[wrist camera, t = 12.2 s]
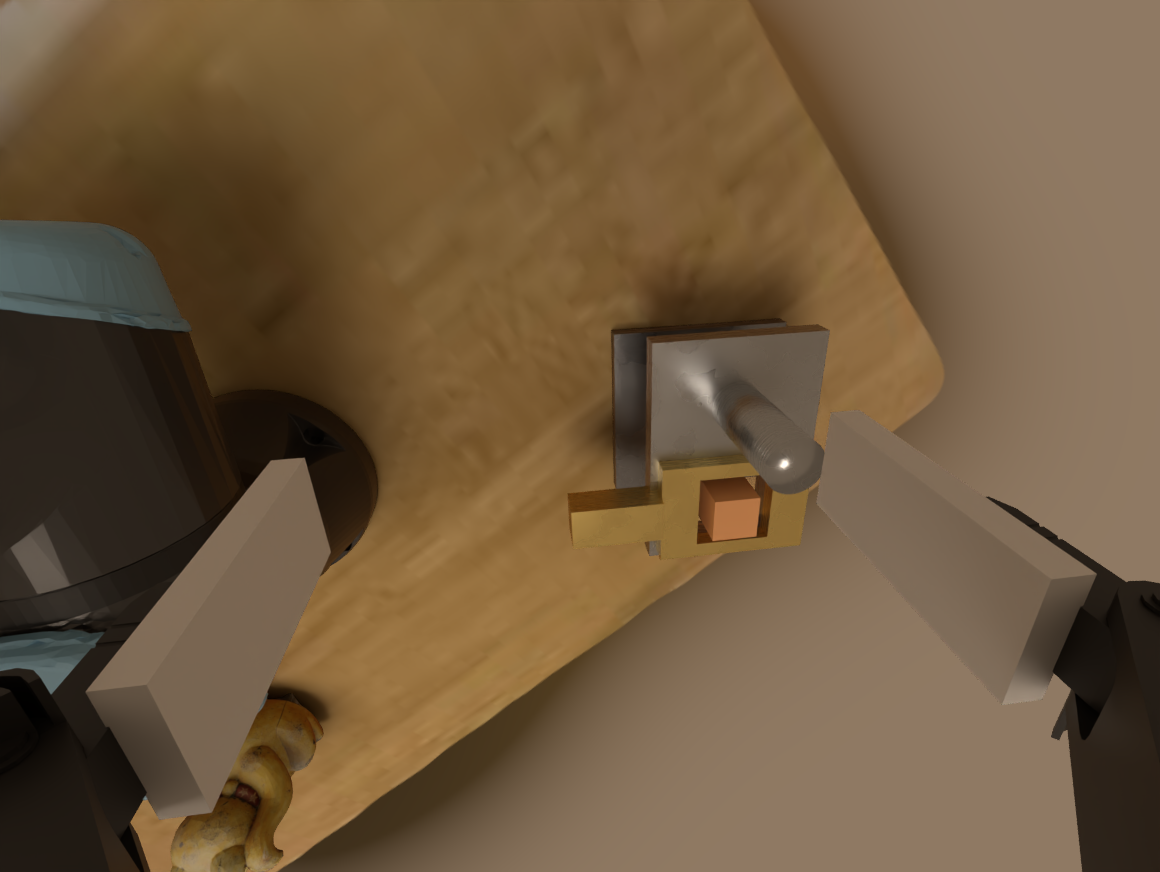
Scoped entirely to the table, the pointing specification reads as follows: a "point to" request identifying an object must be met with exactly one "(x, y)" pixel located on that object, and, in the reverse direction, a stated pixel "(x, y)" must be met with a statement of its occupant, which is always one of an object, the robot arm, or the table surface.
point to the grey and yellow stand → (707, 434)
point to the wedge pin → (729, 508)
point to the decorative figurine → (251, 795)
